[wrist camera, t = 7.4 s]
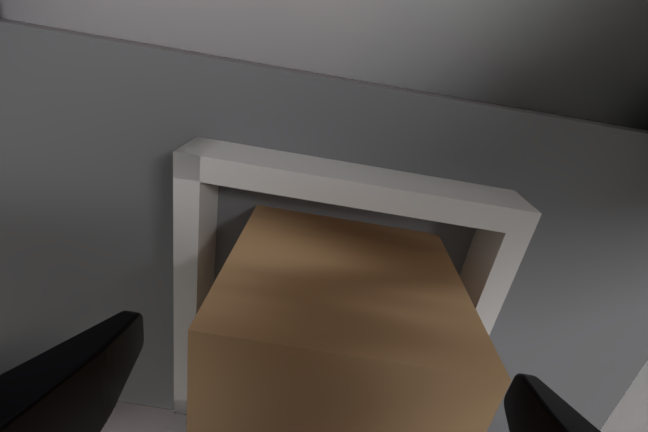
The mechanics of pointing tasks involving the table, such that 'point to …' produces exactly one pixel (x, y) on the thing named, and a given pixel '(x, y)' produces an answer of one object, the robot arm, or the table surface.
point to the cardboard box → (339, 334)
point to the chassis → (305, 203)
